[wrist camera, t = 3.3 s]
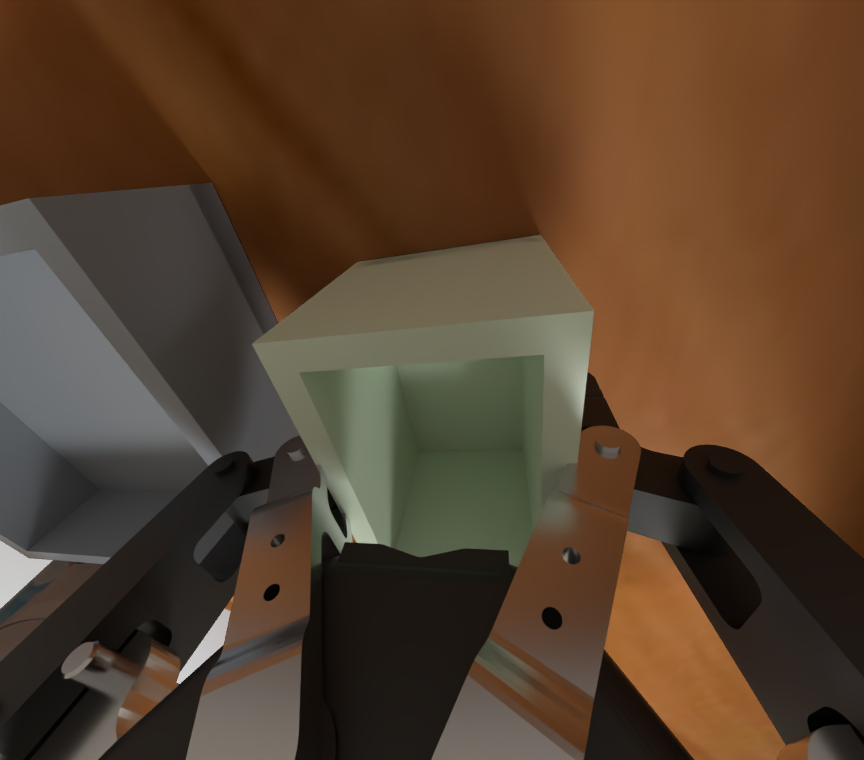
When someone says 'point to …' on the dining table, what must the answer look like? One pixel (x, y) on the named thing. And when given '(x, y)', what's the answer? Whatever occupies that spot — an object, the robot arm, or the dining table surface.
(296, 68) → the dining table surface
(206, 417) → the big crate
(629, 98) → the dining table surface
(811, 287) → the dining table surface
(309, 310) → the small crate
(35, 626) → the milk carton
